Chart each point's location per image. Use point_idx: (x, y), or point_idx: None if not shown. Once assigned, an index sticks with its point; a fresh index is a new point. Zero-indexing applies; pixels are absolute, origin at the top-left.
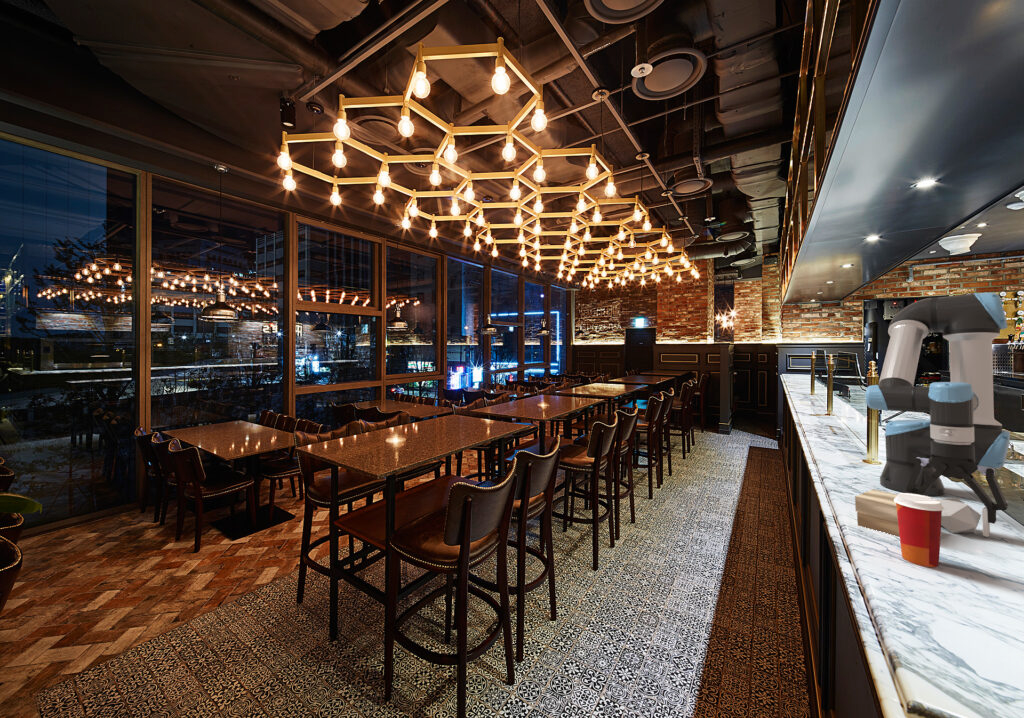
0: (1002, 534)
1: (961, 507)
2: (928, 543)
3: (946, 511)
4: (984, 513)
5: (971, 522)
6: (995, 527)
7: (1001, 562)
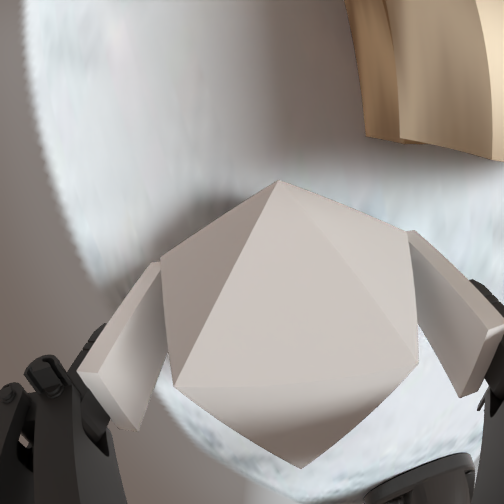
0: None
1: (210, 333)
2: None
3: (314, 226)
4: (100, 350)
5: (173, 257)
6: None
7: (51, 10)
